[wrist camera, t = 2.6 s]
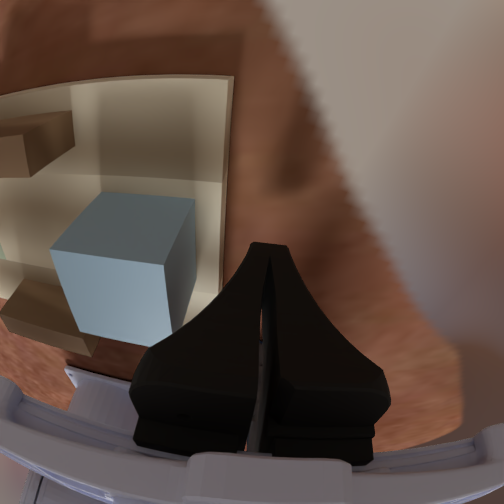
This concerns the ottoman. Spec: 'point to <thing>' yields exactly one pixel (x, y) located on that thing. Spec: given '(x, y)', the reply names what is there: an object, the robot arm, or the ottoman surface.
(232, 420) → the robot arm
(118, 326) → the blue block
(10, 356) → the ottoman surface
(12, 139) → the cream flat tray
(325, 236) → the ottoman surface
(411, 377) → the ottoman surface
